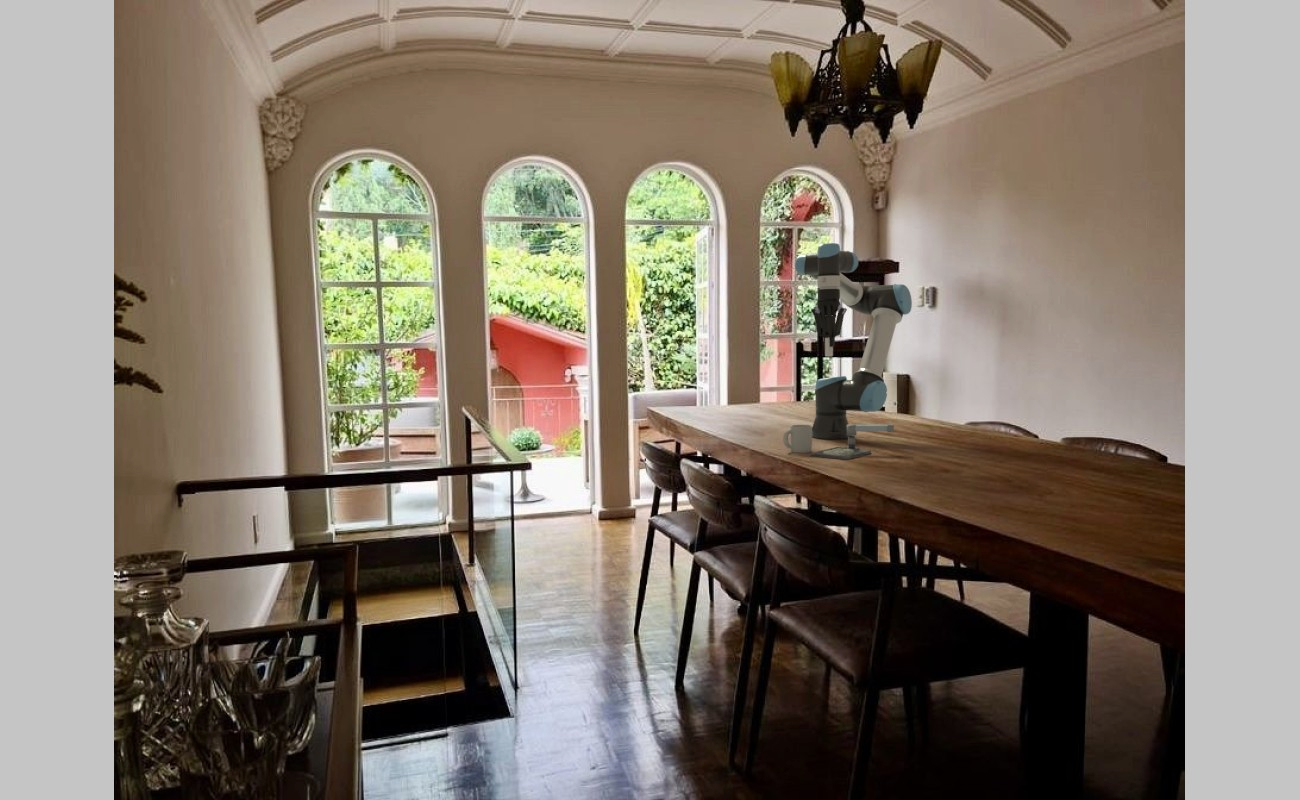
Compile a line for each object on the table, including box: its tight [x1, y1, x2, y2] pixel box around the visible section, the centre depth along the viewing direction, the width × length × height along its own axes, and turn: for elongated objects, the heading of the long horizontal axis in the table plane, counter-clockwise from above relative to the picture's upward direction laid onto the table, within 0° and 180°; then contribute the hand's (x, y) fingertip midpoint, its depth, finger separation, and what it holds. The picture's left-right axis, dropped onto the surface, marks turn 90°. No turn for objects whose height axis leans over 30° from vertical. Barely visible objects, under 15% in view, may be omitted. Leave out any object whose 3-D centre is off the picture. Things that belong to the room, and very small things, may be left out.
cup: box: [782, 424, 813, 454], centre depth 278 cm, size 7×10×9 cm
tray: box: [811, 435, 872, 461], centre depth 270 cm, size 16×13×6 cm
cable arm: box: [847, 423, 895, 437], centre depth 273 cm, size 15×3×4 cm, turn 78°
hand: (829, 356), depth 283 cm, fingers closed
